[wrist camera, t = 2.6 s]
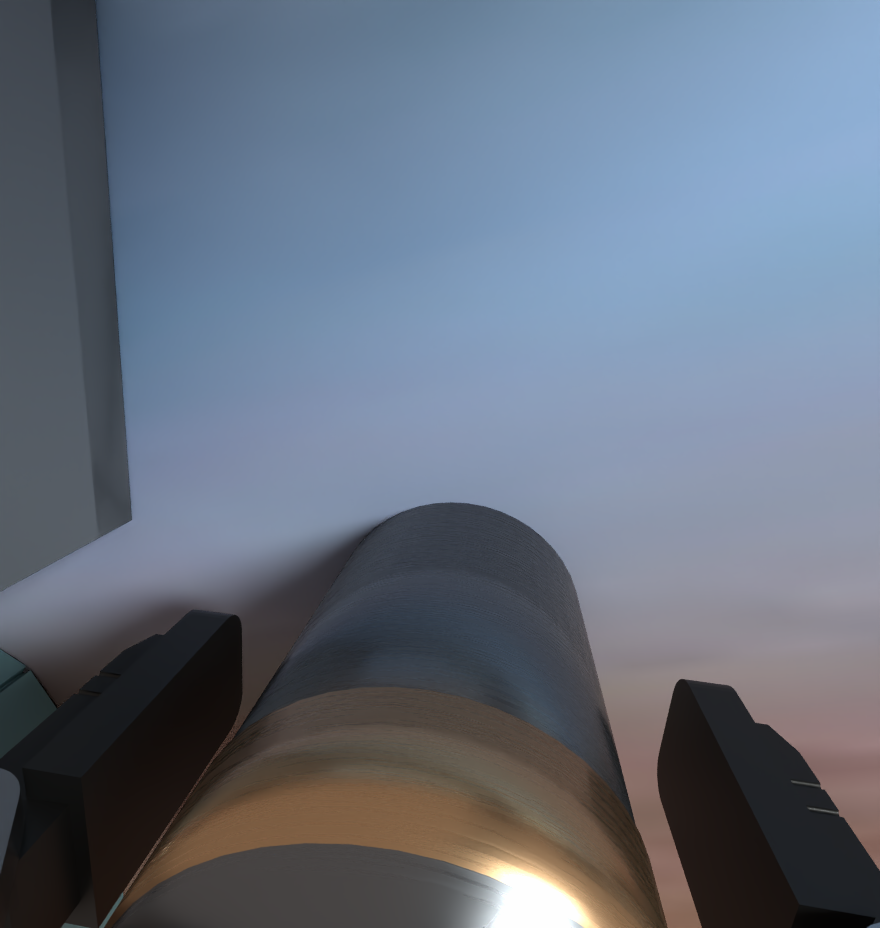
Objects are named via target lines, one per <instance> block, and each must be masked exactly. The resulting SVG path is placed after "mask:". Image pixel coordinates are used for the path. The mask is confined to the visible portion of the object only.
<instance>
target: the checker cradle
mask: <svg viewBox="0 0 880 928" xmlns="http://www.w3.org/2000/svg"><path fill="white" fill-rule="evenodd" d="M131 520H132V516H131V501H130V487H129V473H128V459H127V445H126V430H125V416H124V402H123V388H122V374H121V359H120V345H119V331H118V317H117V303H116V288H115V274H114V260H113V246H112V232H111V217H110V203H109V189H108V175H107V161H106V146H105V132H104V118H103V104H102V90H101V75H100V61H99V47H98V33H97V19H96V4H95V0H0V591H2V590H4V589H6V588H8V587H10V586H11V585H13V584H15V583H17V582H19V581H21V580H22V579H24V578H26V577H28V576H30V575H32V574H33V573H35V572H37V571H39V570H41V569H43V568H44V567H46V566H48V565H50V564H52V563H54V562H55V561H57V560H59V559H61V558H63V557H65V556H66V555H68V554H70V553H72V552H74V551H76V550H77V549H79V548H81V547H83V546H85V545H87V544H88V543H90V542H92V541H94V540H96V539H98V538H99V537H101V536H103V535H105V534H107V533H109V532H110V531H112V530H114V529H116V528H118V527H120V526H121V525H123V524H125V523H127V522H129V521H131Z"/></svg>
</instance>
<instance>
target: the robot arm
mask: <svg viewBox="0 0 880 928" xmlns="http://www.w3.org/2000/svg"><path fill="white" fill-rule="evenodd" d="M241 699H242V628H241V621H240V619H239V617H238V616H237V615H231V614H224V613H217V612H210V611H203V610H192V611H190V612H189V613H188V614H186V615H185V616H184V617H183V618H182V619H181V620H180V621H179V622H178V623H177V624H176V625H175V626H174V627H172V628H171V629H170V630H169V631H168V632H167V633H166V634H165V635H158V634H156V635H154V636H152V637H150V638H148V639H146V640H144V641H142V642H140V643H138V644H136V645H134V646H132V647H130V648H128V649H126V650H124V651H123V652H122V653H121V654H120V655H118V656H117V657H116V658H115V659H114V660H113V661H112V662H110V663H109V664H108V665H107V666H106V667H105V668H104V669H102V670H101V671H100V675H99V676H94V677H93V678H92V679H91V680H90V681H89V682H88V683H86V684H85V685H84V686H83V687H82V688H81V689H80V691H79V693H78V695H77V694H74V695H73V696H71V697H70V698H69V699H68V700H67V701H66V702H65V703H63V704H62V705H61V706H60V707H59V708H58V709H57V710H55V711H54V712H53V713H52V714H51V715H50V716H49V717H47V718H46V719H45V720H44V721H43V722H42V723H41V724H39V725H38V726H37V727H36V728H35V729H34V730H33V731H31V732H30V733H29V734H28V735H27V736H26V737H25V738H23V739H22V740H21V741H20V742H19V743H18V744H16V745H15V746H14V747H13V748H12V749H11V750H10V751H8V752H7V753H6V754H5V755H4V756H3V757H2V758H0V928H61V927H62V926H63V924H64V923H68V924H73V925H78V926H83V927H88V928H99V927H100V926H101V924H102V923H103V921H104V920H105V918H106V917H107V915H108V914H109V912H110V911H111V909H112V908H113V906H114V905H115V903H116V902H117V900H118V899H119V897H120V896H121V894H122V893H123V891H124V890H125V888H126V887H127V885H128V883H129V882H130V880H131V879H132V877H133V876H134V874H135V873H136V871H137V870H138V868H139V867H140V865H141V864H142V862H143V861H144V859H145V858H146V856H147V855H148V853H149V852H150V850H151V849H152V847H153V846H154V844H155V843H156V841H157V840H158V838H159V837H160V835H161V834H162V832H163V831H164V829H165V828H166V826H167V825H168V823H169V822H170V820H171V819H172V817H173V816H174V814H175V813H176V811H177V810H178V808H179V807H180V805H181V804H182V802H183V801H184V799H185V798H186V796H187V795H188V793H189V792H190V790H191V789H192V787H193V786H194V784H195V783H196V781H197V780H198V778H199V777H200V775H201V774H202V772H203V771H204V769H205V768H206V766H207V765H208V763H209V762H210V760H211V759H212V757H213V756H214V754H215V753H216V751H217V750H218V748H219V747H220V745H221V744H222V742H223V741H224V739H225V738H226V736H227V735H228V733H229V732H230V730H231V728H232V727H233V725H234V723H235V720H236V718H237V715H238V712H239V708H240V704H241ZM657 778H658V788H659V794H660V799H661V802H662V805H663V808H664V811H665V815H666V818H667V821H668V824H669V827H670V830H671V833H672V836H673V839H674V842H675V845H676V849H677V852H678V855H679V858H680V861H681V864H682V867H683V870H684V873H685V876H686V879H687V882H688V886H689V889H690V892H691V895H692V898H693V901H694V904H695V907H696V910H697V913H698V916H699V920H700V923H701V926H702V928H880V871H879V869H878V868H877V866H876V865H875V863H874V862H873V860H872V859H871V857H870V856H869V854H868V853H867V851H866V850H865V848H864V847H863V846H862V844H861V843H860V841H859V840H858V838H857V837H856V835H855V834H854V832H853V831H852V829H851V828H850V826H849V825H848V823H847V822H846V820H845V819H844V818H843V817H840V816H839V813H838V811H839V810H838V809H837V807H836V806H835V804H834V803H833V801H832V800H831V798H830V797H829V795H828V794H827V792H826V791H825V790H822V789H821V787H820V782H819V781H818V779H817V778H816V776H815V775H814V773H813V772H812V770H811V769H810V767H809V766H808V764H807V763H806V762H805V760H804V759H803V757H802V756H801V754H800V753H799V752H798V751H797V750H796V749H795V748H794V747H793V746H791V745H790V744H789V743H788V742H787V741H786V740H785V739H784V738H782V737H781V736H780V735H779V734H778V733H777V732H776V731H774V730H773V729H772V728H771V727H770V726H769V725H766V724H759V723H755V722H754V720H753V719H752V717H751V715H750V714H749V712H748V710H747V709H746V707H745V706H744V704H743V702H742V701H741V699H740V698H739V696H738V694H737V693H736V691H735V690H734V689H733V688H732V687H731V686H728V685H721V684H714V683H707V682H700V681H692V680H685V679H680V680H679V681H678V682H677V683H676V685H675V688H674V691H673V695H672V700H671V704H670V708H669V713H668V717H667V721H666V726H665V730H664V734H663V739H662V743H661V747H660V752H659V756H658V766H657Z"/></svg>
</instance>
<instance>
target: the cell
mask: <svg viewBox="0 0 880 928" xmlns="http://www.w3.org/2000/svg"><path fill="white" fill-rule="evenodd" d="M104 928H668V927H667V923H666V920H665V916H664V912H663V908H662V905H661V901H660V897H659V893H658V889H657V886H656V882H655V878H654V874H653V870H652V867H651V863H650V859H649V856H648V854H647V851H646V848H645V846H644V843H643V840H642V838H641V835H640V833H639V831H638V829H637V827H636V825H635V821H634V817H633V813H632V809H631V805H630V801H629V797H628V793H627V789H626V785H625V782H624V778H623V774H622V770H621V766H620V762H619V758H618V754H617V750H616V746H615V742H614V738H613V734H612V730H611V727H610V723H609V719H608V715H607V711H606V707H605V703H604V699H603V695H602V691H601V687H600V683H599V679H598V676H597V672H596V668H595V664H594V660H593V656H592V652H591V648H590V644H589V640H588V636H587V632H586V628H585V624H584V621H583V617H582V613H581V609H580V605H579V601H578V597H577V593H576V590H575V587H574V584H573V581H572V578H571V576H570V574H569V572H568V570H567V568H566V566H565V565H564V563H563V561H562V560H561V558H560V557H559V556H558V554H557V553H556V552H555V550H554V549H553V548H552V547H551V546H550V545H549V544H548V543H547V542H546V541H545V539H544V538H542V537H541V536H540V535H539V534H538V533H536V532H535V531H534V530H533V529H531V528H530V527H529V526H527V525H525V524H524V523H522V522H520V521H519V520H517V519H516V518H513V517H511V516H509V515H507V514H505V513H502V512H500V511H497V510H494V509H491V508H487V507H484V506H479V505H473V504H468V503H436V504H430V505H425V506H419V507H416V508H413V509H410V510H407V511H404V512H402V513H400V514H398V515H396V516H394V517H392V518H389V519H388V520H386V521H385V522H383V523H382V524H380V525H379V526H377V527H376V528H375V529H374V530H373V531H372V532H371V533H369V534H368V535H367V536H366V537H365V538H364V539H363V541H362V542H361V543H360V544H359V545H358V546H357V548H356V549H355V551H354V552H353V554H352V555H351V557H350V558H349V560H348V561H347V563H346V565H345V566H344V568H343V569H342V571H341V572H340V574H339V575H338V577H337V578H336V580H335V582H334V583H333V585H332V586H331V588H330V589H329V591H328V592H327V594H326V596H325V597H324V599H323V600H322V602H321V603H320V605H319V606H318V608H317V609H316V611H315V613H314V614H313V616H312V617H311V619H310V620H309V622H308V623H307V625H306V627H305V628H304V630H303V631H302V633H301V634H300V636H299V637H298V639H297V640H296V642H295V644H294V645H293V647H292V648H291V650H290V651H289V653H288V654H287V656H286V658H285V659H284V661H283V662H282V664H281V665H280V667H279V668H278V670H277V671H276V673H275V675H274V676H273V678H272V679H271V681H270V682H269V684H268V685H267V687H266V689H265V690H264V692H263V693H262V695H261V696H260V698H259V699H258V701H257V702H256V704H255V706H254V707H253V709H252V710H251V712H250V713H249V715H248V716H247V718H246V720H245V721H244V723H243V724H242V726H241V727H240V729H239V730H238V732H237V733H236V735H235V737H234V738H233V740H232V741H230V742H229V743H228V744H227V746H226V747H225V748H224V749H223V750H222V751H221V753H220V754H219V755H218V756H217V757H216V758H215V759H214V761H213V762H212V763H211V765H210V767H209V768H208V770H207V771H206V773H205V774H204V776H203V777H202V779H201V780H200V782H199V783H198V785H197V786H196V788H195V789H194V791H193V792H192V794H191V795H190V797H189V798H188V800H187V801H186V803H185V805H184V806H183V808H182V809H181V811H180V812H179V814H178V815H177V817H176V818H175V820H174V821H173V823H172V824H171V826H170V827H169V829H168V830H167V832H166V833H165V835H164V836H163V838H162V839H161V841H160V843H159V844H158V846H157V847H156V849H155V850H154V852H153V853H152V855H151V856H150V858H149V859H148V861H147V862H146V864H145V865H144V867H143V868H142V870H141V871H140V873H139V874H138V876H137V877H136V879H135V881H134V882H133V884H132V885H131V887H130V888H129V890H128V891H127V893H126V894H125V896H124V897H123V899H122V900H121V902H120V903H119V905H118V906H117V908H116V909H115V911H114V912H113V914H112V915H111V917H110V919H109V920H108V922H107V923H106V925H105V927H104Z"/></svg>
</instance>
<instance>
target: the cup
mask: <svg viewBox="0 0 880 928" xmlns="http://www.w3.org/2000/svg"><path fill="white" fill-rule="evenodd" d="M25 667H26V666H25V665H24V664H22V663H21V662H19V661H17V660H16V659H14V658H13V657H11V656H10V655H8V654H7V653H5V652H4V651H2V650H1V649H0V758H2V757H3V756H4V755H5V754H6V753H7V752H8V751H10V750H11V749H12V748H13V747H14V746H15V745H16V744H18V743H19V742H20V741H21V740H22V739H23V738H25V737H26V736H27V735H28V734H29V733H30V732H31V731H33V730H34V729H35V728H36V727H37V726H38V725H39V724H41V723H42V722H43V721H44V720H45V719H46V718H47V717H49V716H50V715H51V714H52V713H53V712H54V711H55V710H57V708H56V707H55V705H54V704H53V702H52V701H51V699H50V698H49V697H48V695H47V694H46V692H45V691H44V689H43V688H42V686H41V685H40V683H39V682H38V681H37V679H36V678H35V676H34V675H33V673H32V672H31V670H30V671H28V672H25V673H23V671H24V669H25ZM122 899H123V893H122V894H121V896H120V897H119V899H118V900H117V902H116V903H115V905H114V906H113V908H112V909H111V911H110V912H109V914H108V915H107V917H106V918H105V920H104V921H103V923H102V924H101V926H100V927H99V928H104V927H105V925H106V923H107V922H108V920H109V919H110V917H111V915H112V914H113V912H114V911H115V909H116V908H117V906H118V905H119V903H120V902H121V900H122ZM61 928H88V927H83V926H78V925H73V924H68V923H64V924H63V926H62V927H61Z"/></svg>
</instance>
